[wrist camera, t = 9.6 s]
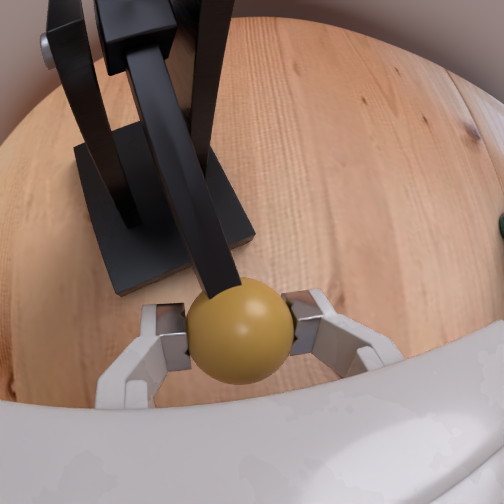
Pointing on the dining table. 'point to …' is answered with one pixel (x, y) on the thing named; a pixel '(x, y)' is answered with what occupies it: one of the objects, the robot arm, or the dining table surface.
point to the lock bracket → (144, 143)
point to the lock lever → (193, 204)
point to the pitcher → (502, 224)
